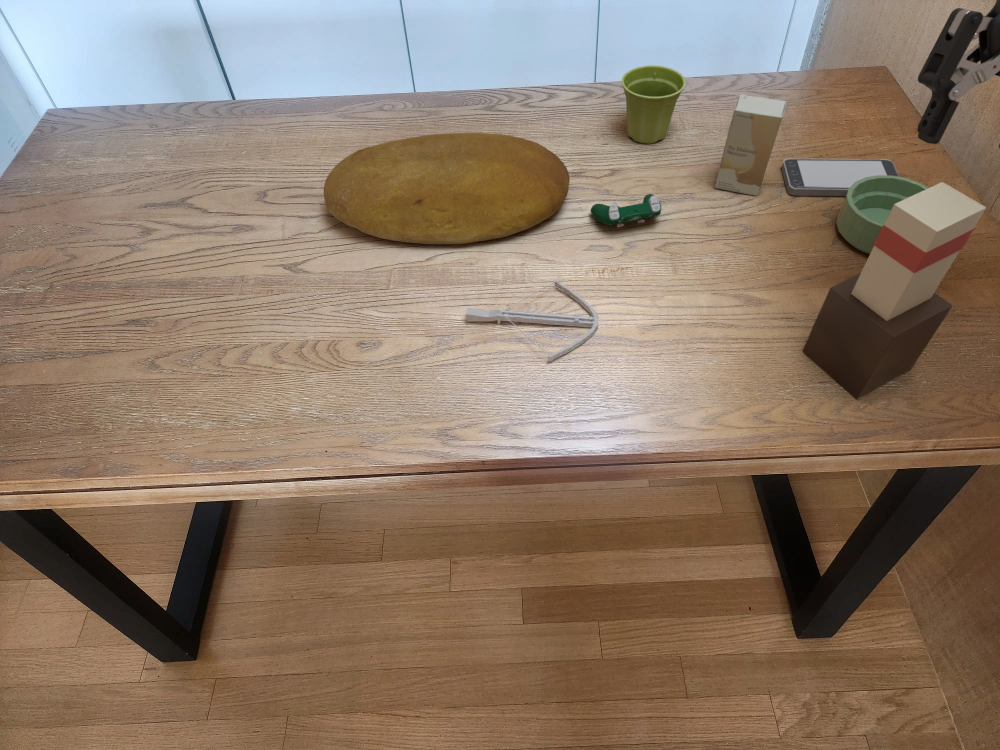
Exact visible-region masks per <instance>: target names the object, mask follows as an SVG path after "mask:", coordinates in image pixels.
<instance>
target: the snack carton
mask: <svg viewBox="0 0 1000 750" xmlns="http://www.w3.org/2000/svg"><path fill="white" fill-rule="evenodd" d="M986 209H987V206H985V205H983V204H981V203H980V202H978V201H976V200H975V199H973V198H971V197H969V196H967V195H966V194H964V193H963V192H961V191H959V190H957V189H956V188H954V187H953V186H950V185H949V184H947V183H945V182H943V181H941V182H939V183H937V184H935V185H932V186H931V187H928V189H926V190H924V191H922V192H919V193H917V194H915V195H913V196H911V197H909V198H906V199H904V200H902V201H900V202H898V203H896V204H894V206H893V208H892V210H891V212H890V214H889V216H888V218H887V220H886V222H885V224H884V225H883V227H882V229H881V231H880V233H879V235H878V237H877V239H876V241H875V243H874V247H873V249H872V251H871V253H870V254H869V256H868V257H867V259H866V262H865V264H864V265H863V268H862V270H861V272H860V273H861V274H860V276H859V278H858V281H857V283H856V285H855V287H854V289H853V291H852V293H851V294H852V295H853V296H855V297H856V298H857V299H859V300H860V301H861V302H862V303H864V304H865V305H866V306H868V307H869V308H870V309H872V310H873V311H874V312H875V313H877V314H878V315H879V316H881V317H882V318H883V319H885V320H886V321H888V320H890V319H892V318H894V317H896V316H898V315H900V314H902V313H904V312H905V311H907V310H909V309H911V308H913V307H915V306H917V305H919V304H921V303H923V302H925V301H927V300H928V299H930V298H931V297H932V295H933V294H934V292H935V293H936V292H937V291H936V290H937V289H938V288H939V286H940V284H941V282H942V281H943V280H944V277H945V276H946V275H947V273H948V271H949V269H950V268H951V266H952V265H953V263H954V261H955V260H956V258H957V256H958V255H959V253H960V252H961V251H962V250H963V249H964V247H965V245H966V243H967V242H968V240H969V238H970V237H971V235H972V234H973V232H974V231H975V227H976V226H977V224H978V222H979V221H980V220H981V218H982V216H983V214H984V213H985V211H986Z"/></svg>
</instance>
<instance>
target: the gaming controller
mask: <svg viewBox="0 0 1000 750" xmlns="http://www.w3.org/2000/svg"><path fill="white" fill-rule="evenodd" d="M661 212H662V203H661V201H660V200H659V198H658V197H657V195H654V194H652V193H648V194H646V195H644V197H643V200H642V202H641V203H637V204H636V203H635V204H630V205H626V206H619V205H618V204H617V203H615V202H611V204H610V205H607V204H604V203H595V204H593V205H592V206H591V208H590V213H591V215H592V216H593V217H594V219H596V220H597V221H598V222H600V223H602V224H604V225H606V226H612V225H614V226H616V228H621V227H624V226H625V223H627V222H631V221H635V222H636V223H637V224H643V223H645V221H646V219H649V218H654V217H658V216H660V215H661Z"/></svg>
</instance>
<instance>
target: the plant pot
mask: <svg viewBox="0 0 1000 750" xmlns="http://www.w3.org/2000/svg"><path fill="white" fill-rule="evenodd" d="M686 84H687V81H686V78H685V76H684V75H683V74H682V73H681V72H679V71H678V70H676V69H674V68H671V67H668V66H664V65H655V64H654V65H650V64H649V65H642V66H637V67H635V68H632V69H630V70H628V71H626V72H625V73H624V74H623V76H622V77H621V86H622V88H623V90H624V95H625V106H626V131H627V136H628V137H630V138H632V140H633V141H634V142H636V143H639V144H649V145H650V144H655V143H656V142H658V141H660V140H661V141H663V140H664V139H665V138H666V137H667V133H668V130H669V127H670V124H671V120H672V118H673V114H674V111H675V107H676V104H677V102H678V101H677V100H678V99H679V98H680V96H681V93H682V92H683V91H684V90H685V88H686V86H687V85H686Z"/></svg>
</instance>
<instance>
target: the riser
mask: <svg viewBox="0 0 1000 750" xmlns="http://www.w3.org/2000/svg"><path fill="white" fill-rule="evenodd" d="M860 274H861V272H858V273H857V274H855V275H853V276H851V277H848V278H847V279H845V280H842V281H841V282H839V283H837V284H834V285H832V286H831V287H829V289H828V292H827V294H826V297H825V298H824V301H823V303H822V305H821V307H820V310H819V312H818V315H817V317H816V319H815V321H814V324H813V326H812V328H811V330H810V332H809V335H808V337H807V339H806V342H805V343H804V346H803V348H802V353H804V354H805V355H806V356H807V357H808V358H809V359H811V360H812V362H814V363H815V365H817V366H818V367H819V368H821V369H822V370H823V371H824V372H825V373H826V374H827V375H829V377H831V378H832V379H833V380H834V381H835V382H836V383H838V384H839V385H840V386H841V387H842V388H843V389H844V390H846V391H847V392H848V393H849V394H850V395H851V396H852V397H853V398H855V399H856V400H858V399H860V398H862V397H864V396H865V395H868V394H870V393H871V392H873V391H875V390H876V389H878V388H881V387H882V386H884V385H886V384H887V383H889V382H890V381H893V380H895V379H896V378H898V377H900V376H902V375H904V374H906V373H907V372H909V371H912V368H913V367H914V365H915V364H916V363H917V362H918V359H919V358H920V357H921V355H922V353H923V352H924V351H925V349H926V348H927V346H928V344H929V343H930V341H931V339H933V336H935V334H936V332H937V330H938V329H939V327H940V326H941V324H942V323H943V321H944V320H945V319H946V317H947V315H949V314H948V313H949V312H950V311H951V309H952V308H953V304H952V303H951V302H949V301H948V300H946V299H945V298H943V297H942V296H940V295H939V294H938V293H937V292H936V291H935V292H934V294H933V295H932V297H931V298H930V299H928V300H927V301H925V302H923V303H921V304H919V305H917V306H915V307H913V308H911V309H909V310H907V311H905V312H904V313H902V314H900V315H898V316H896V317H894V318H892V319H890V320H888V321H886V320H885V319H883V318H882V317H881V316H879V315H878V314H877V313H875V312H874V311H873V310H872V309H870V308H869V307H868V306H866V305H865V304H864V303H862V302H861V301H860V300H859V299H857V298H856V297H855V296H853V295H852V294H851V293H852V291H853V289H854V287H855V285H856V283H857V281H858V278H859V276H860Z"/></svg>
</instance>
